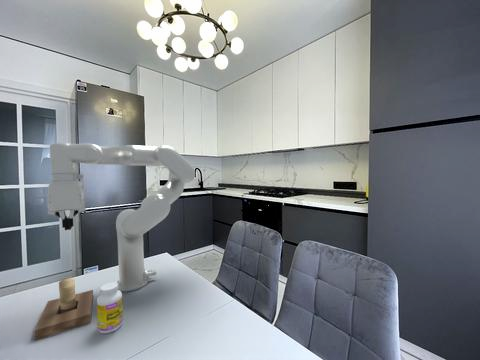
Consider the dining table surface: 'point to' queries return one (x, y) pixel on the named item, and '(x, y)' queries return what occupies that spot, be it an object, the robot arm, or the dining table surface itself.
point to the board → (64, 316)
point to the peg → (67, 295)
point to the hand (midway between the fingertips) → (68, 229)
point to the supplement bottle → (109, 308)
